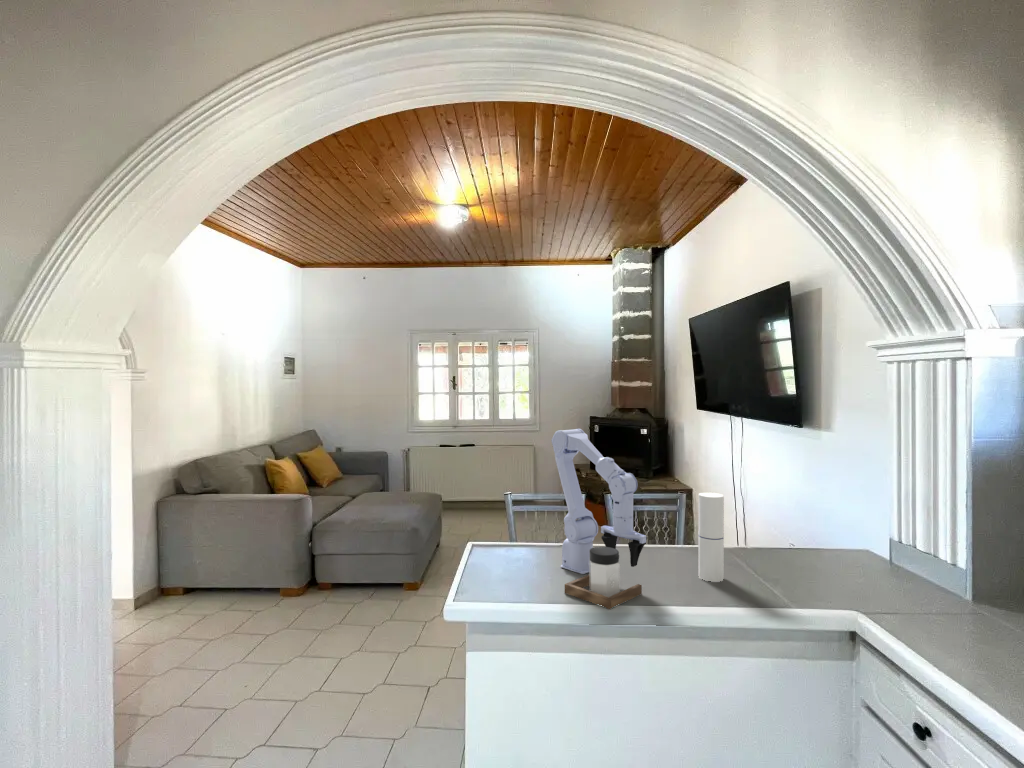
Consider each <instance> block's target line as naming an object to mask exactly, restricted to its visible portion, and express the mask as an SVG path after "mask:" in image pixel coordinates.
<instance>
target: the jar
mask: <svg viewBox="0 0 1024 768" xmlns="http://www.w3.org/2000/svg"><path fill="white" fill-rule="evenodd" d="M619 561H620V552H619V550H618V549H617V548H616V549H614V548H611V547H606V546H595V547H594V546H593V548H591V549H590V558H589V572H588V575H589V586H588V590H589V591H592V592H595V593H598V594H601V595H604V596H606V597H610V596H612V595H615V594H617V593H619V592H620V562H619Z"/></svg>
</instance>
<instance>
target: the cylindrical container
mask: <svg viewBox="0 0 1024 768" xmlns="http://www.w3.org/2000/svg"><path fill="white" fill-rule="evenodd" d="M724 501H725V497H724V494H722V493H718V492H711V491H710V492H699V493H698V548H697V549H698V551H697V552H698V554H697V555H698V557H697V558H698V569H697V570H698V576H699V577H698V579H699V580H702V579H703V580H702V581H704V580H705V582H708V581H711V582H710V583H721V582H723V581H724V580H723V579H724V578H725V577H724V576H725V575H724V574H725V573H724V568H725V566H724V565H725V564H724V563H725V561H724V559H725V558H724V557H725V554H724V552H725V550H724V549H725V548H724V547H725V544H724V543H725V539H724V538H725V537H724V536H725V535H724V534H725V533H724V531H725V530H724V529H725V527H724V525H725V523H724V522H725V521H724V520H725V509H724V508H725V507H724V506H725V502H724ZM720 581H721V582H720Z"/></svg>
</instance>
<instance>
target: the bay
mask: <svg viewBox="0 0 1024 768" xmlns="http://www.w3.org/2000/svg"><path fill="white" fill-rule="evenodd" d="M586 587H589V574H585V575H584V576H582V577H579V578H576V579H574V580H572V581H569V582H567V583H564V594H566V595H569V596H572V597H574V596H575V598H577V599H579V600H583V601H585V600H586V602H588V601H589V602H588V603H591V602H592V603H591V604H594V603H595V604H594V605H596V604H599V605H602V606H604V607H606V608H605V609H607V610H611V608H612V607H614V606H616V605H618V604H620V605H622V604H623V602H624V603H626V602H628V601H630V600H632V599H634V597H635V598H636V596H637V597H638V595H639V596H641V595H642V594H643V593H642V591H643V589H642V588H643V587H642V584H639V583H638V584H637V583H636V584H634V585H632V586H630V587H629V588H627V589H623V590H622V591H621V590H620V591H619V593H617V594H615V595H612V596H610V597H606V596H604V595H601V594H598V593H595V592H592V591H589V589H586ZM640 594H641V595H640ZM627 600H628V601H627ZM625 601H626V602H625ZM621 603H622V604H621ZM599 605H598V606H599ZM602 606H601V607H602ZM618 606H619V605H618ZM604 607H603V608H604ZM616 607H617V606H616ZM614 608H615V607H614ZM612 609H613V608H612Z"/></svg>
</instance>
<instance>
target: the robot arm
mask: <svg viewBox="0 0 1024 768" xmlns="http://www.w3.org/2000/svg"><path fill="white" fill-rule="evenodd" d="M551 445H552V447H553V448H552V449H553V453H554V459H555V465H556V468H557V472H558V474H559V475H558V476H559V480H560V484H561V487H562V488H561V489H562V490H563V495H564V499H565V502H566V508H567V511H568V512H567V514H566V515H565V516H564V518H563V523H564V531H563V532H564V534H565V537H566V539H564V541H563V542H562V544H561V545H562V546H561V565H560V568H563V569H566V570H568V571H571V572H575V573H578V574H581V575H587V574H589V558H590V549H591V548H594V540H595V537H596V536H597V535H598V533H599V524H598V522H597V520H596V519H595V518H594V514H593V512H592V511H591V510H589V509H588V508H586V505H585V501H584V498H583V493H582V491H581V488H580V487H581V486H580V484H579V483H580V482H579V479H578V476H577V472H576V468H575V467H576V466H575V463H574V458H575V457H576V456H577V455H578V453H579V452H580V453H581V454H582V455H584V456H585V457H586V458H587V459H588V460H589V461H590V462H592V463H593V464H594V465H595V471H596V472H597V473H598V475H600V477H602V479H603V480H604V481H605V482H606V483H607V484H608V489H609V491H610V492H611V493H610V494H611V499H612V501H613V506H612V511H613V512H612V514H613V515H612V516H613V517H612V526H609V525H602V526H600V533H601V534H603V535H601V540H602V542H603V543H604V547H611V548H614V549H617V542H618V538H622V539H626V540H630V542H628V543H627V545H628V549H629V556H630V561H629V562H630V567H632V568H633V567H637V565H638V562H639V558H640V556H641V552H642V550H643V548H644V547H645V545H646V543H647V535H645V534H643V533H639V532H637V531H635V530H634V493H635V492H636V491H637V489H638V480H637V478H636V477H635V475H634V473H631V472H626V471H625V469H622V468H621V467H620V466H619V465H618V464H617V463H616V462H615V459H614V458H612V457H609V456H606V457H604V456H603V454H602V453H601V452H600V451H599V450H598V449H597V448H596V446H594V444H593V443H592V442H591V440H589V435H588V434H587V433H585V431H584V430H583V429H581V428H575V429H565V430H564V429H563V430H562V429H559V430H556V431H555V432H554V434H553V436H552V437H551Z"/></svg>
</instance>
